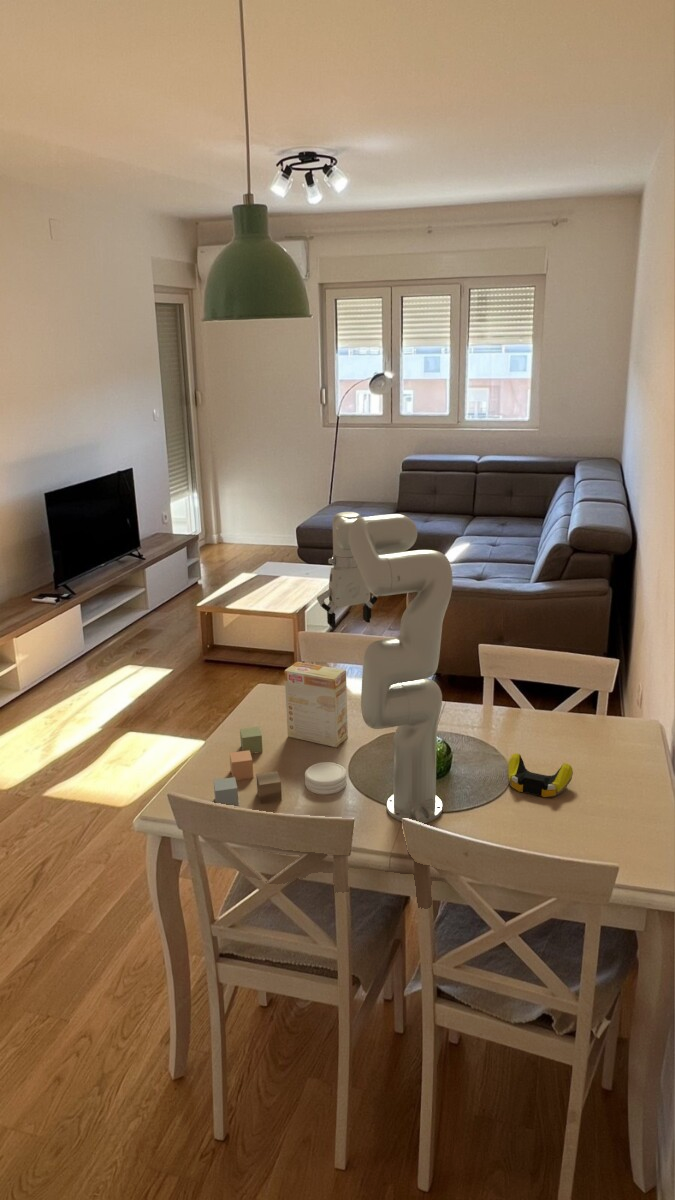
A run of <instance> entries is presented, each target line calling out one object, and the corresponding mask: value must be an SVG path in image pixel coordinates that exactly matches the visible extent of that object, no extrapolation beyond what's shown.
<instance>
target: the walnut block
mask: <svg viewBox="0 0 675 1200" xmlns="http://www.w3.org/2000/svg"><path fill="white" fill-rule="evenodd" d="M255 776H256V788H257V789H256V791H257V796H258V799H259V804H266V803H267V804H268V803H275V802H281V801H283V800H282V799H283V796H282V781H281V778H280V774H279V772H278V771H277V770H275V771H268V772H262V773H261V772H260V773H256V775H255Z"/></svg>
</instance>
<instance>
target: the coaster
mask: <svg viewBox="0 0 675 1200" xmlns="http://www.w3.org/2000/svg"><path fill="white" fill-rule="evenodd" d="M347 774H348V773H347V770H346V768H345V767H344V766H342V765H341V764H338V763H335V762H329V761H328V762H325V761H324V762H317V763H314V764H311V766H309V767H307V768H306V770H305V772H304V781H305V782H304V784H305V787H306V788H307V791H309V792H312V793H314V794H318V795H332V794H337V793H340V792H342V791H343V790H344V789H345V788H346V786H347V783H348V781H347V780H348V777H347Z"/></svg>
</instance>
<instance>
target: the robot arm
mask: <svg viewBox="0 0 675 1200" xmlns="http://www.w3.org/2000/svg"><path fill="white" fill-rule="evenodd" d="M417 538H418V528H417V525H416V523H415V522H414V521H413V520H412V519H411V518H409V516H406V515H404V514H400V513H389V514H375V515H372V516H362V515H361V514H360V513H358V512H355V511H342V512H341V511H340V512H338V513H335V514H334V515H333V517H332V550H333V551H332V553H333V554H332V557H331V558H328V559H327V560H328V562H327V563H328V564H330V565H331V564H332V566H331V567H330V573H329V579H328V589H327V590H325V591H323V592H322V593H321V594H320V595H318V596H317V597H316V600H317V602H318V604H319V605H320V607H322V609H324V610H325V611H326V616H327V617H326V618H327V622H326V623H327V624H328V625H329V626H330V627H331V628H332V629H335V628H336V627H337V626H336V624H337V623H336V613H335V611H336V609H337V607H339V608H341V607H349V606H355V605H362V604H363V606H362V620H364V621H365V623H369V624H370V623H371V619H372V608H373V607H374V604H375V603H376V602H377V600H378V598H379V597H387V596H392V595H401V594H409V593H417V594H416V595H415V597H414V598H413V599H412V600H411V601H410V602H409V604H408V605H407V607H406V609H405V610H404V612H403V614H402V616H401V619H400V632H399V634H398V636H396V637H392V638H385V639H380V640H375V641H373V642H371V643H370V644H369V645H368V646H367V647H366V649H365V651H364V655H363V660H362V676H361V696H360V699H361V700H360V707H361V708H360V710H361V715H362V718H363V719H362V720H363V721H364V723H365V725H366V726H368V727H369V728H370V729H373V730H381V729H382V730H383V729H389V728H390V729H391V728H395V727H396V730H395V733H394V736H393V741H392V742H393V743H392V744H393V746H392V747H393V748H392V749H393V751H392V752H393V753H392V754H393V755H392V756H393V758H392V760H393V761H392V762H393V765H392V766H393V767H392V769H393V770H392V771H393V772H392V773H393V777H392V778H393V780H392V781H393V784H392V785H393V791H392V792H393V794H392V795H391V796H390V797H389V798H388V799H387V801H386V811H387V813H388V814H389V815H390V816H391V817H392V818H394V819H395V820H397V821H399V822H402V821H401V820H402V818H409V819H412V820H416V821H419V822H422V823H425V824H426V823H430V822H432V821H434V820H436V819H437V818H439V817H440V816H441V815H442V812H443V810H444V809H443V801H442V800H441V799H440V798H439V797H438V796H437V795H436V794H437V750H438V747H437V745H438V728H439V727H438V726H439V720H440V714H441V711H442V706H443V705H442V703H443V694H442V690H441V688H440V686H439V685H438V684H437V682H436V681H435V680H432V679H431V677H432V676H434V675H435V674H436V672H437V670H438V666H439V661H440V652H441V644H442V643H441V641H442V634H443V633H442V631H443V622H444V618H445V616H446V615H445V614H446V611H447V609H448V606H449V602H450V600H451V597H452V591H453V584H454V583H453V581H454V580H453V571H452V566H451V563H450V560H449V558H447V556H446V555H445V554H444V553H443V552H441V551H438V550H434V549H417V550H409V549H411V548H412V547H413V546H414V545H415V543H416V542H417ZM371 594H372V595H371ZM327 598H328V600H329V602H328V604H326V602H325V600H326V599H327Z"/></svg>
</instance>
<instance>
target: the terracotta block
mask: <svg viewBox="0 0 675 1200" xmlns="http://www.w3.org/2000/svg"><path fill="white" fill-rule="evenodd" d="M229 764H230V772H231V773H232V774H231V778H232V777H235V779H236V781H239V780H246V779H253V778H254V766H253V758H252V754H251V753H250V750H248V751H242V750H240V751H234V752H229Z"/></svg>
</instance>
